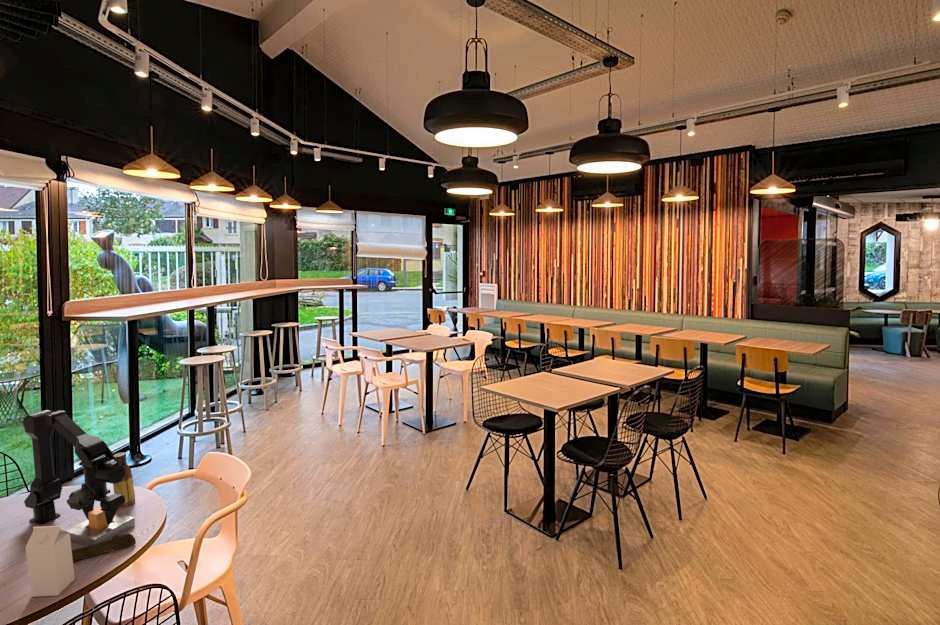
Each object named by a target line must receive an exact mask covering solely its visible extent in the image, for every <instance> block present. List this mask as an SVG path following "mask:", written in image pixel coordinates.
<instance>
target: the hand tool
mask: <svg viewBox="0 0 940 625" xmlns="http://www.w3.org/2000/svg"><path fill="white" fill-rule="evenodd" d="M136 541H137V540H136V538H135V537H134V535H133V534H130V533H123V534H119V535H117V536H115V537H113V538H112V539H110V540H108V541H105V542H101V543H97V544H93V545H90V546H86V545H85V546H82V547H78V548H75V549H72V559H73V562H75V561H79V560H83V559H87V558H91V557H94V556H97V555H101V554H105V553H109V552H114V553H116V552H120V551H122V550H125V549H128V548H130V547H132V546H134V545H136V543H137V542H136Z"/></svg>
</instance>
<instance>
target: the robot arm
mask: <svg viewBox="0 0 940 625" xmlns="http://www.w3.org/2000/svg"><path fill="white" fill-rule="evenodd" d="M22 426H23V427H24V428H23V429H24V431H25V433H26V434H27V435H28V436H29V437H30V438H31V443H32V444H31V445H32V453H33V454H32V455H33V463H34V464H33V465H34V475H35V476H34V479H33V480H32V482H31V485H30V487H29V494H28V495H27V497H26V498H25V499H24V500H23V502H24V505H25V508H28V509H32V511H33V512H32V513H33V518H31V519H29V523H33V524H38V525H44V524H46V523H48V522H51V521H52V520H54V519H56V518H58V517H61V513H57V511H56V505H55V500H58V499H60V498H61V494H62V491H63V485H62V482H63V481H62V479H61V478H59V477H58V476H56V475H55V474H54V464H53V452H52V451H53V450H52V441H51V440H52V438H51V436H52V434H53V432H54V431H55V430H56V432H58V433H59V434H60V435H61V436H62V437H64V438H65V440H67V441H68V443H70V444H71V445H72V446H73V447H74V454H75V455H76V457H77V458H78V459H79V460H80V462H79V463H78V465H79V466H82V467H83V476H84V478H83V479H84V482H83V483H81V484H80V488H79V489H77V490H74V491H72V492H70V494H69V495H68V499H66V503H67V505H68V506H69V508H70V510H76V511H81V510H82V512H83V515H84V516H85V518H86V520H87V519H88V520H89V518H88V512H90V511H92V510H94V507H95V502H99V507H101V508H102V509H100V510H102V511H104V512H105V516H106V521H107V524H108V525H109V524H111V523H112V521H113V518H114V516H115V514H116V513H117V512H118V510H119V508H120V507H119V506H120V505H122V504H123V503H125V496H123V495H120V494H116V493H115V494H114V493H113V494H111V489H108V487H107V483H108V484H109V483H110V484H112V485H113V484H115V483H118V482H120V481H121V480H122V479H123V477H124V475H125V469H124V468H123V467H122V466H119V465H118V462H114V460H113V459H115V457H114V456H113V455H114V453H113V452H112V450H111V449H110V448H109V446H108V445H107V442H105V441H104V440H103V439H101V438H99V437H98V436H95V435H90V434H89V433H87V432H86V431H85V430H83V429H82V427H80V426H79V425H78V424H77V423H76V422H75V421H74V420H72V419H71V417H69V416H68V413H67V411H65V410H63V409H62V410H61V409H60V410H54V411H52V410H49V409H45V410H42V411H38V412H35V413H34V412H33V413H31V414H28V415H26V416H25V417H24V418H23V421H22ZM108 494H111V495H108Z"/></svg>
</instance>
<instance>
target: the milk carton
mask: <svg viewBox="0 0 940 625" xmlns="http://www.w3.org/2000/svg"><path fill="white" fill-rule="evenodd" d="M32 529H33V531H32V532H31V535H30V537H29V539H28V542H27V543H26V545H25V554H26V563H27V565H26V566H27V572H28V580H29V588H30V590H29V591H30V595H31V596H30V597H31V598H32V597H33V598H35V597H37V598H38V597H53V596H54V597H55V596H59V595H60V594H61V593H62V592H63V591H64V590H66V588H67V587H68V586H70V584H72V583H73V582H74V580H75V579H76V578H75V570H74V568H75V567H74V561H73V559H72V550H73V549H72V542H71V540H70V532H67V531H66V530H63V529H61V526H60V525H49V526H47V525H46V526H33V527H32Z"/></svg>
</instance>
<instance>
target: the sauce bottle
mask: <svg viewBox="0 0 940 625" xmlns="http://www.w3.org/2000/svg"><path fill="white" fill-rule="evenodd" d="M113 456H114V457H115V459H113V460H112V461H113V462H118V465H119V466H122V467H123V468H124V469H125V475H124V477H123V479H122V480H121V481H120V482H118V483H115V484H113V483H112V486H113V494H115V493H116V494H120V495H123V496H125V503H123V504H122V505H120V506H119V508H124V506H125V507H128V505H129V506H131V505H132V504H134V503H135V502H136V494H135V493H136V492H135V486H134V479H133V478H134V477H133V473H132V469H131V466H129V465H128V463H127V459H126V458H127V454H126V452H118V453H117V452H116V453H114V454H113Z"/></svg>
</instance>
